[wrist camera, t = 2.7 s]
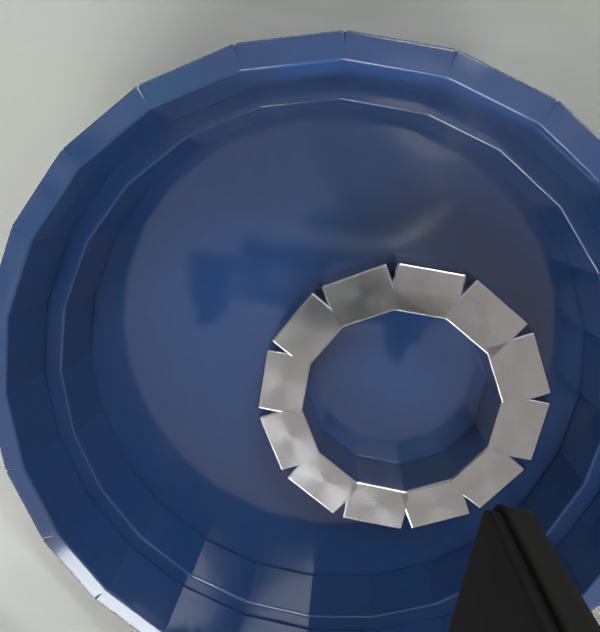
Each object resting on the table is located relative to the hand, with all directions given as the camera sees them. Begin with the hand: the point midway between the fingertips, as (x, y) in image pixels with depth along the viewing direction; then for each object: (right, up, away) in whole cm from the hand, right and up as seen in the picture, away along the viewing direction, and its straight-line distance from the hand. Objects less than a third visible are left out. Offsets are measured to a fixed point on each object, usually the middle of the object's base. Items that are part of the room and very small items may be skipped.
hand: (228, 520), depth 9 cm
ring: (+4, +2, +7) cm, 8 cm away
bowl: (+2, +2, +8) cm, 8 cm away
